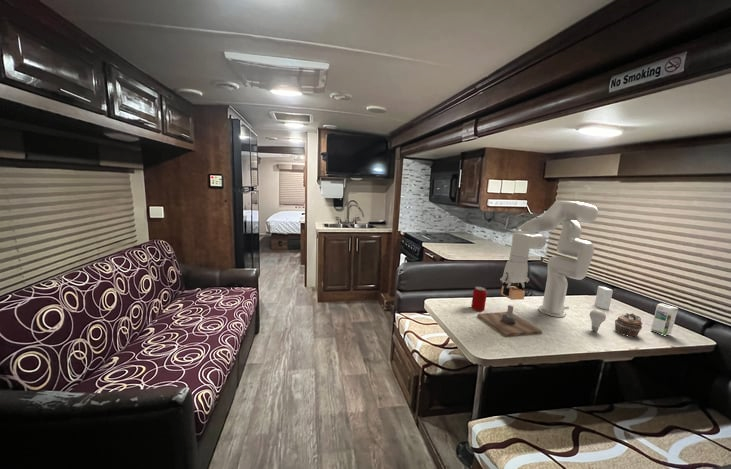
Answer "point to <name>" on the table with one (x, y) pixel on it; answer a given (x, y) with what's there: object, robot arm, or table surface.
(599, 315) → the lightbulb
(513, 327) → the post stand
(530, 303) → the table surface
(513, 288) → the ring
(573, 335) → the table surface
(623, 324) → the cupcake
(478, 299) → the beverage can
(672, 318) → the syrup box
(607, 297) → the skincare box
